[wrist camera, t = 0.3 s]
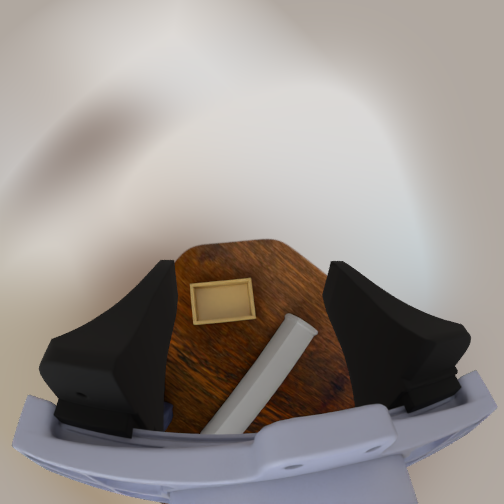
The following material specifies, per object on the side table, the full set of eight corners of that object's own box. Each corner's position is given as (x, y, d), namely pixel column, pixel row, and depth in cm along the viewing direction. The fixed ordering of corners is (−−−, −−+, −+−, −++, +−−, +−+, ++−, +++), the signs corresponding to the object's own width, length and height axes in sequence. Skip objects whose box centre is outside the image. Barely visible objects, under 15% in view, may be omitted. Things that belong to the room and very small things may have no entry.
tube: (224, 465, 31) (323, 335, 38) (194, 453, 30) (298, 315, 36) (216, 446, 36) (305, 328, 43) (189, 434, 35) (281, 310, 41)
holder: (254, 318, 42) (255, 318, 39) (195, 324, 41) (193, 324, 38) (249, 280, 43) (251, 277, 41) (191, 286, 42) (189, 283, 40)
